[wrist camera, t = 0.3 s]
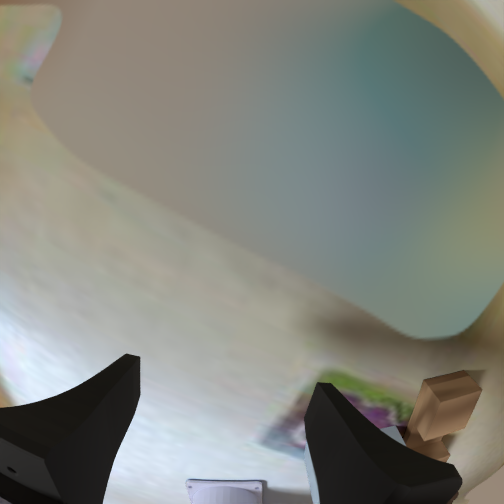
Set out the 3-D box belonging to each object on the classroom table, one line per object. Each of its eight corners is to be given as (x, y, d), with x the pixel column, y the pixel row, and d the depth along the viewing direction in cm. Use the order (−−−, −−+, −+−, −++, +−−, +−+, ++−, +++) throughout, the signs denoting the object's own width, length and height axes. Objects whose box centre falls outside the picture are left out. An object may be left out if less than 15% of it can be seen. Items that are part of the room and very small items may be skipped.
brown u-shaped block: (424, 461, 28) (434, 480, 24) (388, 471, 28) (397, 492, 24) (463, 370, 24) (482, 389, 21) (423, 379, 24) (440, 402, 21)
